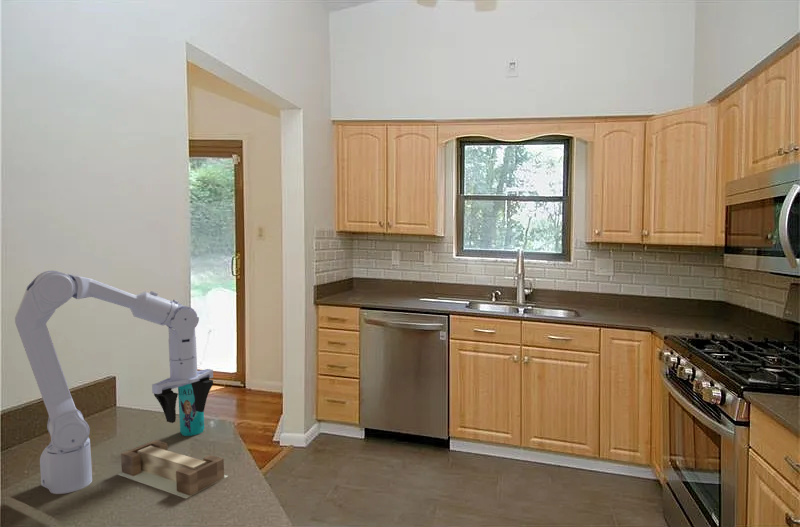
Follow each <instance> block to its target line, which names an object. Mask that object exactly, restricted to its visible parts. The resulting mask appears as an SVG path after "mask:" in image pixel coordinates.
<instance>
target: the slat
mask: <svg viewBox="0 0 800 527" xmlns="http://www.w3.org/2000/svg"><path fill="white" fill-rule="evenodd" d="M138 454H140V461H141V470H142V471H145V472H148V473H151V474H154V475H157V476H160V477H163V478H166V479H169V480H172V481H176V471H177V470H179V469H181V468H183V467H184V468H187V469H191V470H196V469H198V468H200V467H202V466H204V465H206V461H203V460H202V459H198V458H196V457H192V456H187V455H184V454H181V453H177V452H174V451H170V450H168V451H167V450H164V449H160V448H157V447H153V446H149V447H146V448H144V449H141V450H139V451H138Z"/></svg>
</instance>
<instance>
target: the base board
mask: <svg viewBox="0 0 800 527" xmlns="http://www.w3.org/2000/svg"><path fill="white" fill-rule="evenodd" d="M116 475H117V476H121V477H124V478H127V479H129V480H131V481H135V482H138V483H141V484H142V485H143V484H144V485H147V486H149V487H151V488H154V489H158V490H161V491H164V492H166V493H169V494H172V495H175V496H177V497H180V498H183V499H188V498H190V497H191V496H193V495H195V494H197V493H199V492H197V493H195V494H193V495H191V496H189V495H186V494H183V493H181V492H178V491H177V483H176V481H172V480H169V479H166V478H163V477H160V476H157V475H154V474H151V473H148V472H145V471H142V470H141V473H140V474H137V475H135V476H131V475H128V474H126V473H123V472H122V471H121V472H120V473H117V474H116ZM227 477H229V475H226V474H224V478H223V479H222V480H224V479H225V478H227ZM215 484H216V483H214V484H212V485H215ZM212 485H210V486H208V487H206V488H205V489H207V488H209V487H211V486H212Z"/></svg>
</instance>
